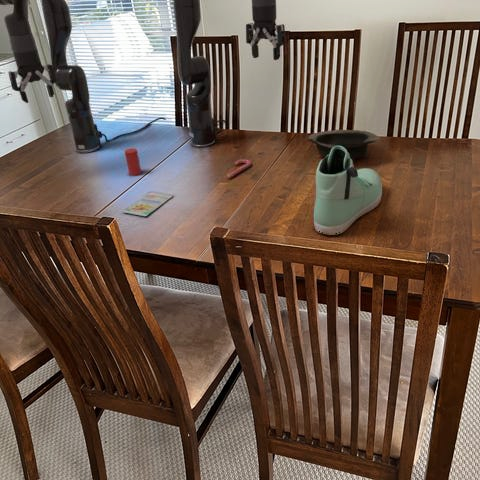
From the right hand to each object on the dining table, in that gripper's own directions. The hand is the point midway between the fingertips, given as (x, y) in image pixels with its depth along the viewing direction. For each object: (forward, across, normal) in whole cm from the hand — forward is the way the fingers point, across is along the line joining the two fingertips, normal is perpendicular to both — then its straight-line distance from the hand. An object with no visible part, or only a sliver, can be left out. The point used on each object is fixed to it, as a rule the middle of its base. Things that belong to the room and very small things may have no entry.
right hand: (266, 58), depth 157 cm
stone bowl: (+35, +20, +16) cm, 44 cm away
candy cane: (+35, -3, -14) cm, 38 cm away
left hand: (+8, -58, -51) cm, 78 cm away
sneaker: (+35, +43, -18) cm, 58 cm away
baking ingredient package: (+35, -10, -49) cm, 61 cm away
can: (+35, -34, -36) cm, 60 cm away
